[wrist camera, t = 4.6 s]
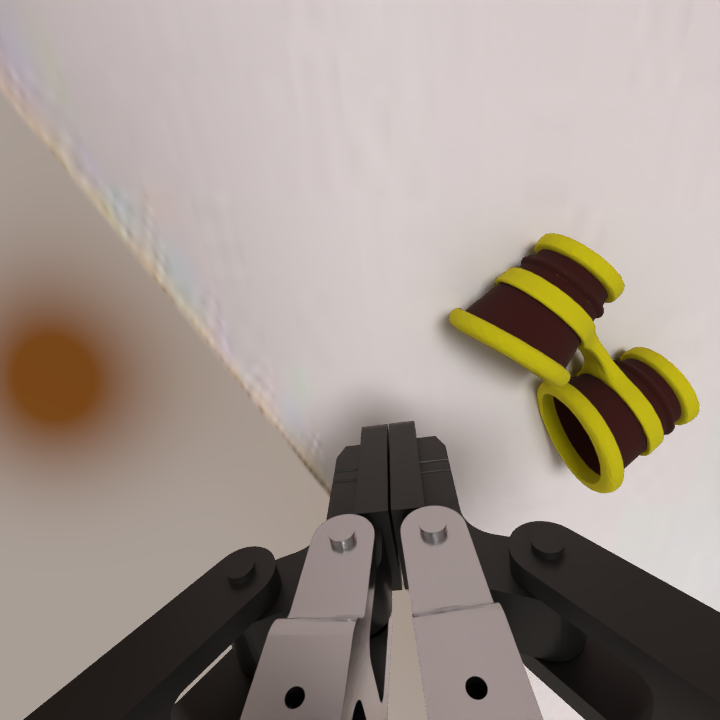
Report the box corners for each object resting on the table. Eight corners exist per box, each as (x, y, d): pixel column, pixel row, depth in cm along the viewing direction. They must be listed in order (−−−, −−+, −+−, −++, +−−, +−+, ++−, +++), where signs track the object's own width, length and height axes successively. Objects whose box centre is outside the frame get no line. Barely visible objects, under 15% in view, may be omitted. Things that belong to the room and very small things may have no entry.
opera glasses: (642, 387, 20) (743, 432, 16) (553, 458, 21) (624, 522, 16) (529, 223, 18) (608, 217, 13) (430, 308, 18) (472, 333, 14)
